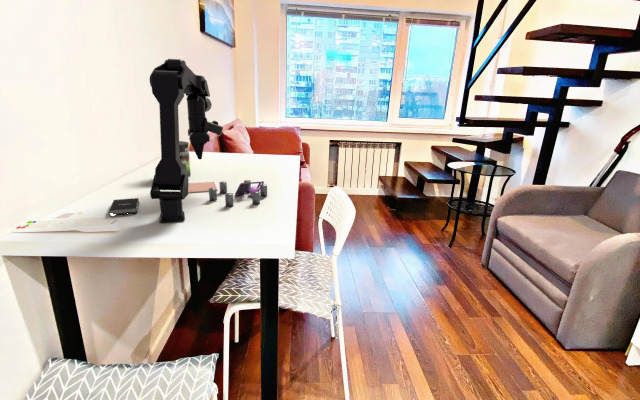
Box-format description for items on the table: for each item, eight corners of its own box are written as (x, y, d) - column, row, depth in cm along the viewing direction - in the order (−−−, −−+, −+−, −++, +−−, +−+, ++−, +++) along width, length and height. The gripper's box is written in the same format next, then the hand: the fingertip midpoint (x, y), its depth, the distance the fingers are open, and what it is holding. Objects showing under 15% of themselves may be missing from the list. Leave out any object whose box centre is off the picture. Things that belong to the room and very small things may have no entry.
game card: (233, 193, 121) (256, 190, 127) (238, 205, 119) (261, 202, 125) (239, 181, 117) (263, 179, 122) (245, 193, 115) (268, 191, 120)
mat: (217, 191, 125) (217, 190, 125) (188, 193, 121) (187, 192, 121) (214, 183, 135) (214, 181, 135) (186, 184, 132) (186, 183, 131)
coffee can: (195, 175, 146) (193, 141, 142) (182, 181, 136) (179, 145, 132) (173, 173, 148) (170, 140, 143) (158, 179, 138) (154, 143, 134)
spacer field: (273, 203, 114) (273, 191, 113) (212, 208, 107) (211, 196, 106) (261, 189, 129) (261, 179, 128) (207, 193, 122) (206, 182, 121)
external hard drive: (109, 217, 98) (108, 211, 97) (114, 205, 108) (113, 199, 107) (137, 215, 101) (136, 208, 100) (139, 203, 110) (138, 197, 110)
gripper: (224, 116, 115) (226, 162, 120) (217, 112, 131) (219, 153, 136) (188, 116, 111) (191, 164, 115) (186, 112, 127) (189, 154, 132)
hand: (199, 158), depth 125 cm, fingers closed
